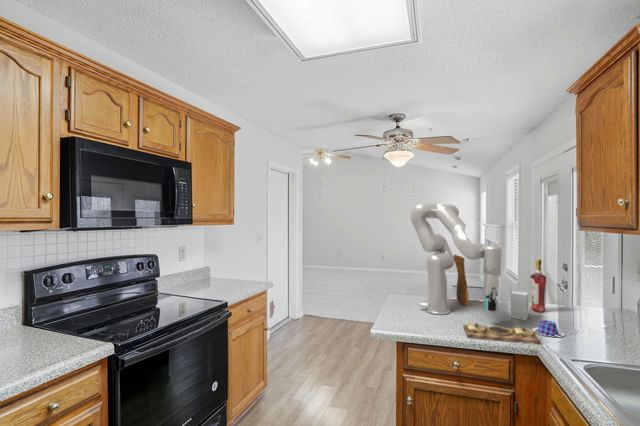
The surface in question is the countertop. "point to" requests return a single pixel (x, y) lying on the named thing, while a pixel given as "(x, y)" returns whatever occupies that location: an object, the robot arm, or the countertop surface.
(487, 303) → the loose gear
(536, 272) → the liquor
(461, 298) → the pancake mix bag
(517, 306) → the supplement box
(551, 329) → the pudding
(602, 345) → the countertop surface
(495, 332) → the gear board
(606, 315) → the countertop surface
